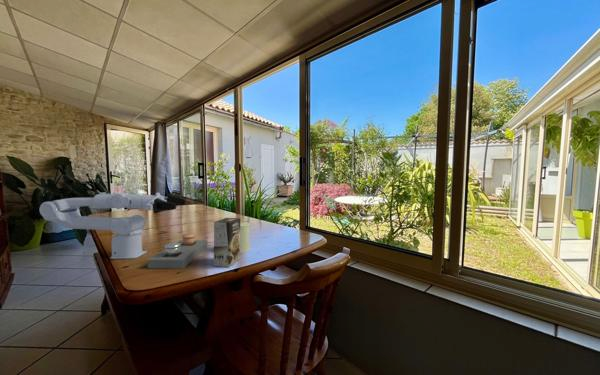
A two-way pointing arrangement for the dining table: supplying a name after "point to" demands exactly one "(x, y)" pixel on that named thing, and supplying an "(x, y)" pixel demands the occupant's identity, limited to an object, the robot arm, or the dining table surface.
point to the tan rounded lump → (188, 239)
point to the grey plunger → (172, 249)
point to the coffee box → (226, 242)
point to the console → (181, 260)
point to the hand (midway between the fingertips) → (180, 204)
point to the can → (244, 237)
